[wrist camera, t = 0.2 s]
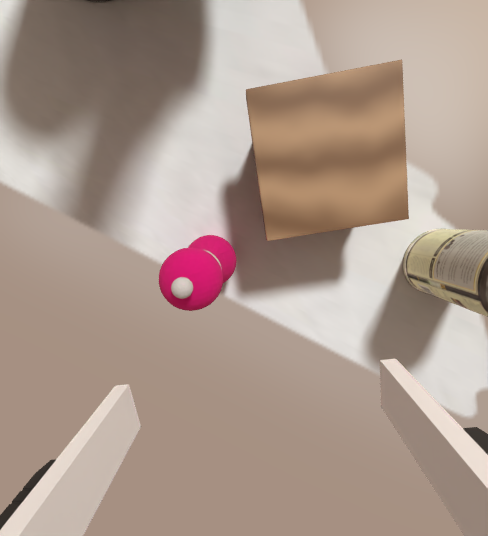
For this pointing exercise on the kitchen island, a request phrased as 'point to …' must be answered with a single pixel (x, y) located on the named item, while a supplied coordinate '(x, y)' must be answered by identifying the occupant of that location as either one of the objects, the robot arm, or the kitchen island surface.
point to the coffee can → (451, 266)
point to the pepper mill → (197, 272)
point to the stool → (330, 150)
